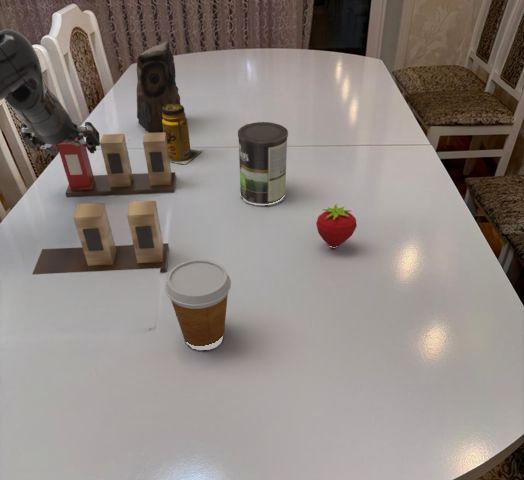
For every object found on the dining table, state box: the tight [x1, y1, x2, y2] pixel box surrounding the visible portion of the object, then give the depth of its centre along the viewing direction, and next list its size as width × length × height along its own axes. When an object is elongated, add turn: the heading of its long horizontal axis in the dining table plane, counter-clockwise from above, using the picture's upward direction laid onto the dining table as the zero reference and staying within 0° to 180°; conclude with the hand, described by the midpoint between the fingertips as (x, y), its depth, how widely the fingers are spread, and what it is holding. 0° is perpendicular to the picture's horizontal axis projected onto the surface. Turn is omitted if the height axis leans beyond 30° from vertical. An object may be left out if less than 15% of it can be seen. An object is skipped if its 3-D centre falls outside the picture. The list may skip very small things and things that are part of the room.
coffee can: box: [237, 121, 289, 207], centre depth 106 cm, size 10×10×14 cm
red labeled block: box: [56, 137, 94, 189], centre depth 110 cm, size 5×5×10 cm
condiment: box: [162, 103, 203, 165], centre depth 121 cm, size 7×8×12 cm
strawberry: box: [315, 203, 358, 247], centre depth 93 cm, size 6×8×10 cm
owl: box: [136, 40, 182, 133], centre depth 131 cm, size 13×13×20 cm
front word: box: [31, 200, 170, 275], centre depth 90 cm, size 24×8×11 cm, turn 94°
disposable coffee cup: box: [164, 259, 232, 346], centre depth 75 cm, size 10×10×12 cm
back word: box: [65, 132, 177, 198], centre depth 111 cm, size 24×8×11 cm, turn 94°
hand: (72, 149), depth 108 cm, fingers open, 8 cm apart
